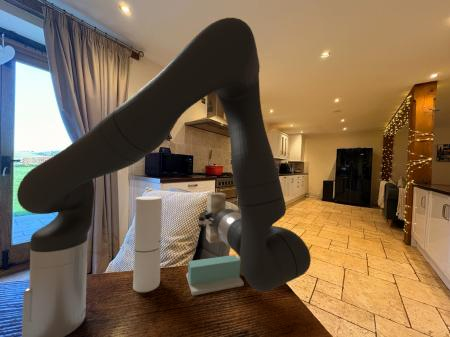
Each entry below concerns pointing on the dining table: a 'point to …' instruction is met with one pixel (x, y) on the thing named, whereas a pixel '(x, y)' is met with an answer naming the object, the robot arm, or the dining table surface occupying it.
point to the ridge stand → (213, 274)
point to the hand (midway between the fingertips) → (213, 213)
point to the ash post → (215, 204)
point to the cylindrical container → (147, 243)
